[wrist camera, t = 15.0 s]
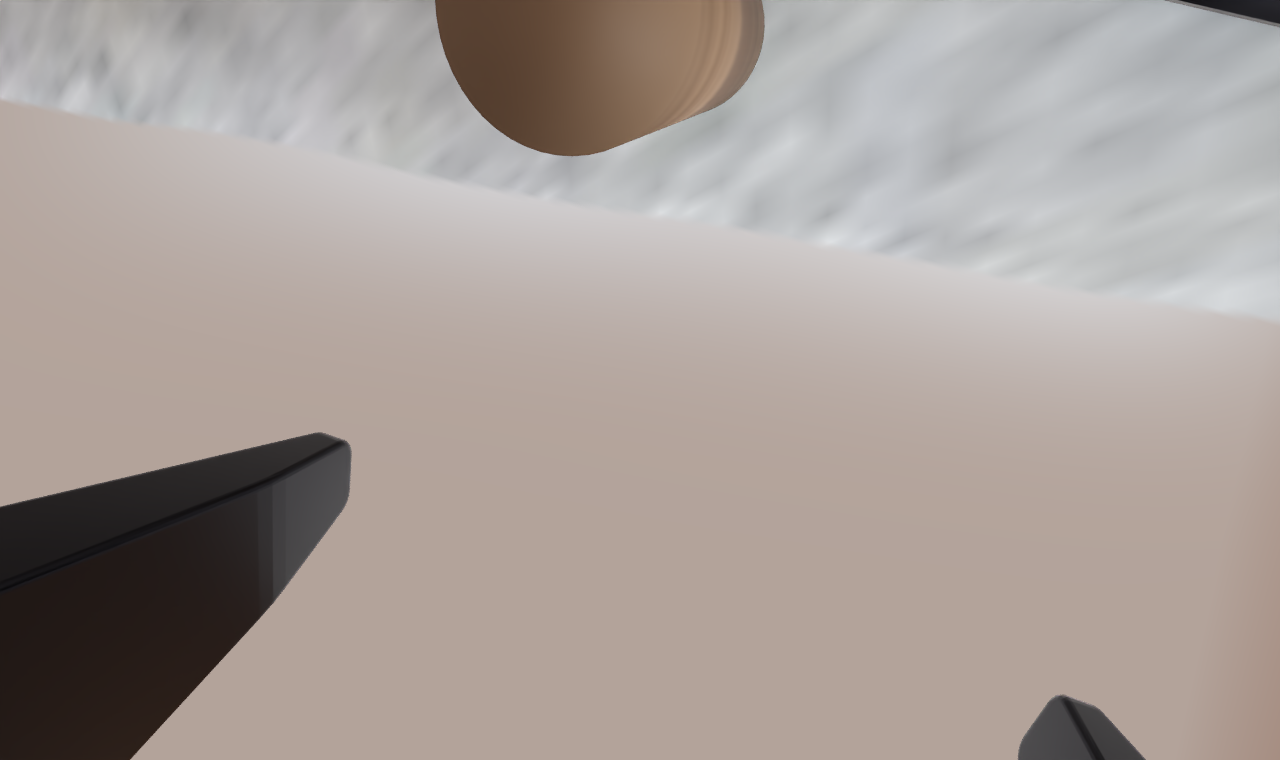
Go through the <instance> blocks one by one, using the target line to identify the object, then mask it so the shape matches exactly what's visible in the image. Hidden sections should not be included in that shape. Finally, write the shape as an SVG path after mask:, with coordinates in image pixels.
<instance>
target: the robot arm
mask: <svg viewBox="0 0 1280 760" xmlns="http://www.w3.org/2000/svg"><path fill="white" fill-rule="evenodd" d="M1166 1H1170V2H1174V3H1178V4H1183V5H1187V6H1191V7H1196V8H1200V9H1204V10H1208V11H1213V12H1217V13H1221V14H1226V15H1230V16H1234V17H1238V18H1243V19H1247V20H1251V21H1256V22H1260V23H1264V24H1268V25H1273V26H1277V27H1280V0H1166ZM350 471H351V447H350V445H349V443H348V442H347V441H345V440H343V439H340V438H337V437H334V436H331V435H328V434H326V433H313V434H308V435H304V436H300V437H296V438H291V439H287V440H283V441H279V442H275V443H270V444H266V445H261V446H257V447H253V448H249V449H244V450H241V451H236V452H232V453H227V454H223V455H219V456H215V457H210V458H206V459H202V460H198V461H193V462H189V463H185V464H180V465H176V466H172V467H168V468H163V469H159V470H155V471H151V472H146V473H142V474H138V475H134V476H129V477H125V478H121V479H116V480H112V481H108V482H104V483H99V484H95V485H91V486H86V487H82V488H78V489H74V490H70V491H65V492H61V493H57V494H53V495H48V496H44V497H39V498H35V499H31V500H27V501H22V502H18V503H14V504H10V505H6V506H2V507H0V760H130V759H131V758H132V757H133V756H134V755H135V753H137V751H138V750H139V749H140V748H141V747H142V746H143V745H144V744H145V743H146V742H147V741H148V739H149V738H150V737H151V736H152V735H153V734H154V733H155V732H156V731H157V729H159V728H160V726H161V725H162V724H163V723H164V722H165V721H166V720H167V719H168V718H169V717H170V716H171V714H172V713H173V712H174V711H175V710H176V709H177V708H178V707H179V705H181V703H182V702H183V701H184V700H185V699H186V698H187V697H188V696H189V695H190V694H191V693H192V691H193V690H194V689H195V688H196V687H197V686H198V685H199V684H200V683H201V682H202V681H203V680H204V678H205V677H206V676H207V675H208V674H209V673H210V672H211V671H212V670H213V669H214V667H215V666H216V665H217V664H218V663H219V662H220V661H221V660H222V659H223V658H224V657H225V656H226V654H227V653H228V652H229V651H230V650H231V649H232V648H233V647H234V646H235V645H236V644H237V642H238V641H239V640H240V639H241V638H242V637H243V636H244V635H245V634H246V633H247V632H248V631H249V629H250V628H251V627H252V626H253V625H254V624H255V623H256V622H257V621H258V620H259V619H260V617H261V616H262V615H263V614H264V613H265V612H266V610H267V609H268V608H269V607H270V606H271V605H272V604H273V603H274V601H275V600H276V599H277V597H278V596H279V595H280V594H281V592H282V591H283V590H284V589H285V587H286V586H287V585H288V583H289V582H290V580H291V579H292V578H293V576H294V575H295V574H296V572H297V571H298V570H299V568H300V567H301V566H302V564H303V563H304V562H305V560H306V559H307V558H308V556H309V555H310V554H311V552H312V551H313V549H314V548H315V547H316V546H317V544H318V543H319V541H320V540H321V539H322V537H323V536H324V535H325V533H326V532H327V531H328V529H329V528H330V527H331V525H332V524H333V523H334V521H335V520H336V518H337V517H338V516H339V514H340V513H341V512H342V510H343V508H344V507H345V505H346V503H347V500H348V497H349V490H350ZM1018 760H1146V759H1145V758H1144V757H1143V756H1142V755H1141V754H1140V753H1139V752H1138V751H1137V750H1136V748H1135V747H1134V746H1133V745H1132V744H1131V743H1130V742H1129V741H1128V740H1127V739H1126V738H1125V736H1123V734H1122V733H1121V732H1120V731H1119V730H1118V729H1117V728H1116V727H1115V726H1114V724H1113V723H1112V722H1111V721H1110V720H1109V719H1108V718H1107V717H1106V716H1105V715H1104V713H1103V712H1102V711H1101V710H1100V709H1098V708H1097V707H1095V706H1094V705H1091V704H1089V703H1086V702H1083V701H1080V700H1077V699H1075V698H1072V697H1069V696H1066V695H1056V696H1055V697H1053V698H1052V699H1051V700H1050V701H1049V702H1048V703H1047V705H1046V706H1045V708H1044V709H1043V710H1042V712H1041V713H1040V715H1039V716H1038V717H1037V719H1036V720H1035V722H1034V723H1033V724H1032V726H1031V727H1030V729H1029V730H1028V731H1027V733H1026V734H1025V736H1024V737H1023V739H1022V742H1021V744H1020V747H1019V753H1018Z"/></svg>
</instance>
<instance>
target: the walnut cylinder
mask: <svg viewBox="0 0 1280 760" xmlns="http://www.w3.org/2000/svg"><path fill="white" fill-rule="evenodd" d="M435 3H436V16H437V23H438V28H439V33H440V38H441V42H442V45H443V48H444V52H445V55H446V58H447V60H448V63H449V65H450V67H451V70H452V72H453V74H454V76H455V78H456V80H457V82H458V84H459V85H460V87H461V89H462V91H463V92H464V93H465V95H466V96H467V98H468V99H469V101H470V102H471V103H472V105H473V106H474V107H475V108H476V109H477V110H478V112H479V113H480V114H481V115H482V116H483V117H484V118H485V119H486V120H487V121H488V122H489V123H490V124H492V125H493V126H494V127H495V128H496V129H497V130H499V131H500V132H502V133H503V134H505V135H506V136H507V137H509V138H510V139H512V140H514V141H516V142H518V143H520V144H522V145H524V146H526V147H529V148H531V149H534V150H537V151H540V152H544V153H549V154H553V155H562V156H581V155H590V154H594V153H599V152H603V151H606V150H609V149H611V148H614V147H617V146H619V145H622V144H624V143H627V142H629V141H632V140H634V139H637V138H640V137H642V136H645V135H647V134H650V133H652V132H655V131H657V130H660V129H662V128H665V127H667V126H670V125H672V124H675V123H678V122H680V121H683V120H685V119H688V118H690V117H693V116H695V115H698V114H700V113H703V112H705V111H708V110H710V109H713V108H715V107H717V106H719V105H721V104H722V103H724V102H725V101H727V100H728V99H729V98H731V97H732V96H733V95H734V94H735V93H736V92H737V91H738V90H739V89H740V88H741V87H742V86H743V85H744V83H745V82H746V81H747V79H748V78H749V76H750V74H751V73H752V71H753V69H754V67H755V65H756V63H757V60H758V58H759V55H760V52H761V48H762V43H763V37H764V11H763V5H762V1H761V0H435Z"/></svg>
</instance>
